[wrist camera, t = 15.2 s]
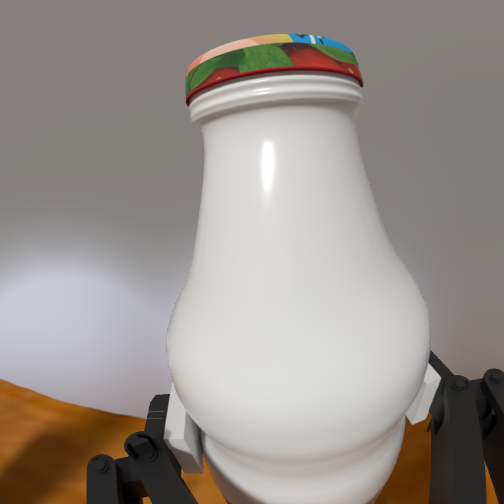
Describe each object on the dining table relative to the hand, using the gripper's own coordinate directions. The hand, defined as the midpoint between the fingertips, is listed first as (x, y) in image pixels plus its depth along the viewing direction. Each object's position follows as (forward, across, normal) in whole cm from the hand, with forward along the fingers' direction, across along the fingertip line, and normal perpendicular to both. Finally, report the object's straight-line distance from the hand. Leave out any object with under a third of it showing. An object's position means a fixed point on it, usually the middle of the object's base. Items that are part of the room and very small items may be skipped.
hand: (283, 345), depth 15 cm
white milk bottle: (-4, 0, -16) cm, 16 cm away
